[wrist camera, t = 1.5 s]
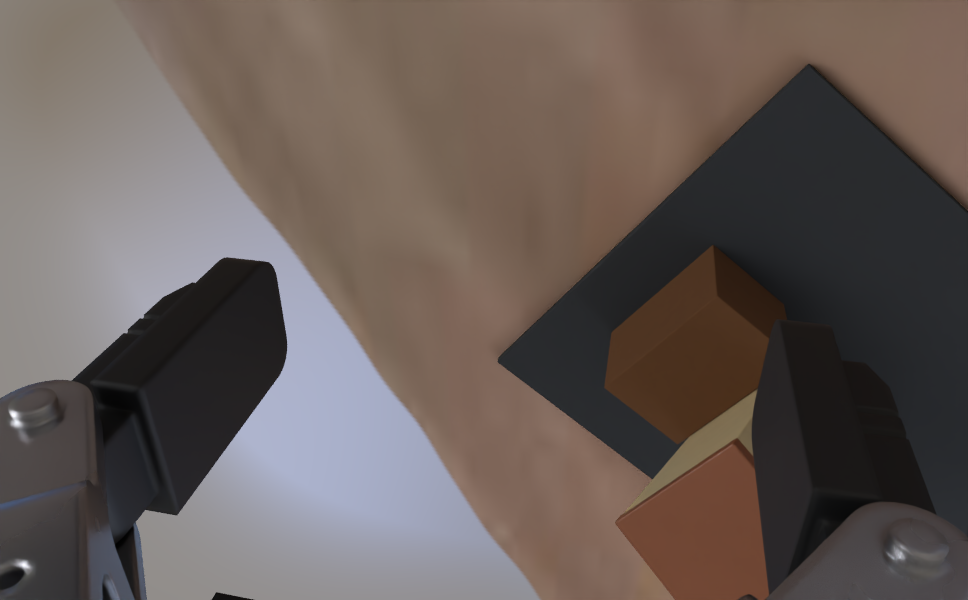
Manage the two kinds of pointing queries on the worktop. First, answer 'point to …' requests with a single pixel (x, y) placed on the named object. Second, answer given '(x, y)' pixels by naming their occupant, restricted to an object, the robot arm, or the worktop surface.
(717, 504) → the carton
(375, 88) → the worktop surface
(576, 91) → the worktop surface
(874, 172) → the mat
